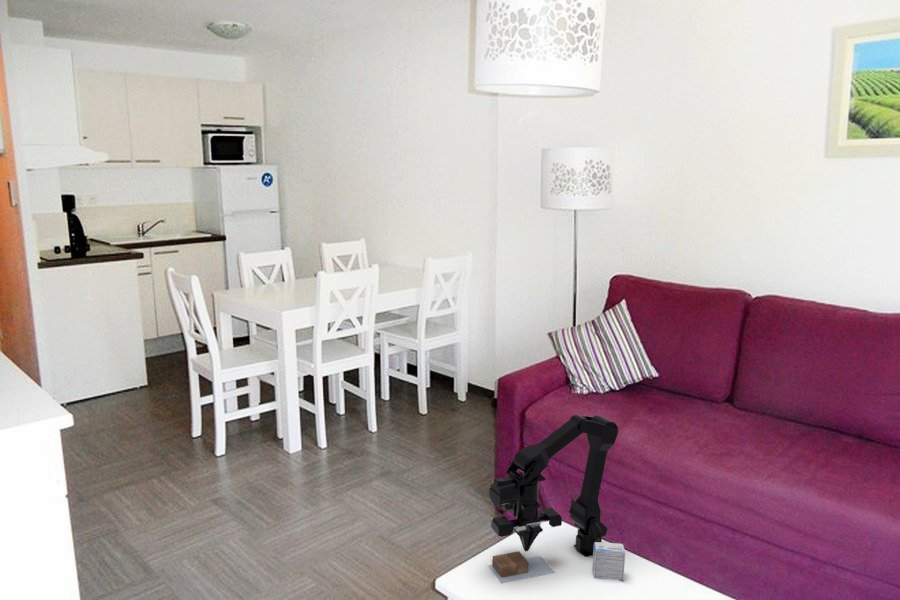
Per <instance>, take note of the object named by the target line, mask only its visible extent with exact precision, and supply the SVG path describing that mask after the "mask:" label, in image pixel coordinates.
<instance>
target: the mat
mask: <svg viewBox="0 0 900 600" xmlns="http://www.w3.org/2000/svg"><path fill="white" fill-rule="evenodd" d="M525 559H526V560H527V561H528V562H529V570H528V572H526V573H521V574H516V575H511V576H505V577H501V576H500V575H499V574H498V572H497V571H496V570H495V568H494V567H493V566H492V564H488V565H487V567H488V568H489V569H490V570H491V572H492V573H493V575H494V576H495V577H496V579H497V580H498V581H499V582H500V584H504V583H509V582H515V581H520V580H524V579H525V580H526V579H530V578H535V577H541V576H546V575H550V574H555V573H556V572H555V570H553V568H552V567H551V566H550V565H549V563H547V562H546V560H544V558H543V557H542V556H541V555H538V556H536V555H535V556H531V557H526V558H525Z"/></svg>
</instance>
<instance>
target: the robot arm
mask: <svg viewBox="0 0 900 600" xmlns="http://www.w3.org/2000/svg"><path fill="white" fill-rule="evenodd" d="M583 434H586V437H587V440H588V445H589V450H588V454H587V461H586V466H585V469H584V475H583V479H582V480H583V481H582V485H581V489H580V490H581V491H580V494H579V496H578V497H577V498H576V499H571V502H570V507H569V508H570V509H569V511H568V513H569V518H570V519H571V521H572V522H573V525H574V526H575V527H576V528H578V529H577V534H576V535H575V544H574V545H573V547H574V548H575V549H576V551H578V552H579V553H580V554H581V555H582V556H583V557H585V558H588V557H593V550H594V542H602V543H603V541H602V539H603V537H604V536H606V535H607V533H608V532H607V531H608V530H609V529H608V527H606V525H604V524H603V523H602V522H601V519H602V518H601V515H602V512H601V511H602V510H601V507H600V503H599V495H600V490H601V487H602V486H601V485H602V480H603V475H604V470H605V465H606V460H607V456H608V451H610V449H611V448H612V447H613V446H614V445H615V443H616V440H617V438H618V434H619V427H618V425H617V423H616V422H614V421H612V420H610V419H608V418H606V417H604V416H601V415H599V414H597V415H594V416H590V415H589V416H588V415H579V414H573V415H572V416H571V417H570V418H569V419H568V420H567V421H566V422H565V423H564V424H562V425H561V426H560V427H558V428H557V429H556V430H555V431H552V433H551V434H549V435H548V436H547V437H546V438H544V439H542V441H540V442H538V443H536V444H530V445H528V446H524V448H522V449H520V450H518V451H517V452H516V453H515V455H514V458H513V460H512V461H511V463H510V465H509V466H508V468H507V469H506V472H505V475H506V477H502V478H494V479H493V483H491V485H490V488H489V490H488V492H489V497H490V500H491V502H492V504H493V505H494V506H495V507H497V506H498V507H499V506H501V510H504V511H508V513H510V512H511V516H513V517H515V519H510V520H509V518H508V517H507V516H506V515H502V516H496V517H493V518H492V519H491V522H490V526H491V528H492V530H493V532H495V533H496V535H497V536H498V537H501V538H502V537H508V536H511V535H512V534H513V532H514V533H516V534H517V536H518V537H519V540H520V543H521V545H522V548H523V551H524V552H528V551H529V550H530V549H531V547H532V546H533V543H534V541H535V540H536V539H537V537H538V536H539V534H540V533H541V532H543V531H544V528H542V526H541V524H542V523H546V522H548V525H550V527H551V528H556V527H560V526H562V523H563V522H562V521H563V518H562V515H561V514H559V513H558V512H557V511H556V510H555V508H553V507H547V508H541V503H540V502H539V482H543V481H546V477H544V475H543V474H542V472H543V471H544V470H545V469H546V468H547V467H548V465H549V462H550V460H551V459H552V458H553V457H554V456H555V455H556V454H558V453H559V452H560V451H562V450H563V449H564V448H565V447H566V446H568V445H570V443H572V442H573V441H575V440H576V439H577V438H579V437H580V436H581V435H583ZM517 471H520V472H521V473H522V474H521V473H519V472H517ZM539 508H541V509H540V510H538V509H539ZM538 511H539V514H538Z"/></svg>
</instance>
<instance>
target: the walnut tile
mask: <svg viewBox="0 0 900 600" xmlns="http://www.w3.org/2000/svg"><path fill="white" fill-rule="evenodd" d="M491 565H492V566H493V567H494V568H495V570H496V571H497V572H498V574H499V575H500V576H501V577H505V576H511V575H516V574H521V573H526V572H528V570H529V562H528V561H527V560H526V559H525V556H524V555H523V554H522V553H521V551H520V550H519V551H513V552H508V553H503V554H496V555H492V563H491Z"/></svg>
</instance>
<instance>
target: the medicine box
mask: <svg viewBox="0 0 900 600" xmlns="http://www.w3.org/2000/svg"><path fill="white" fill-rule="evenodd" d="M625 565H626V550H625V546H624V544H623V543H615V542H603V541H602V542H594V550H593V556H592V568H591V569H592V574H593V579H600V580H602V579H603V580H617V581H621V582H623V581H624V579H625V577H624V576H625Z"/></svg>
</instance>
